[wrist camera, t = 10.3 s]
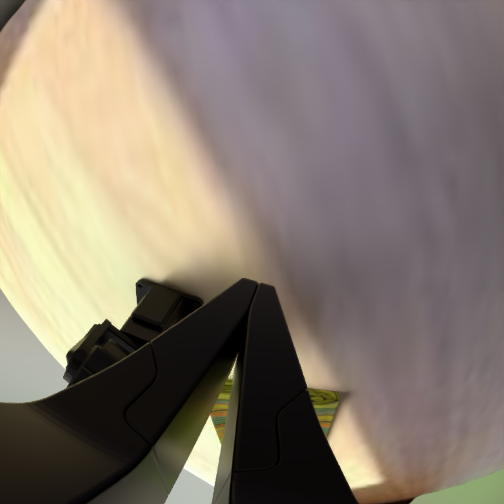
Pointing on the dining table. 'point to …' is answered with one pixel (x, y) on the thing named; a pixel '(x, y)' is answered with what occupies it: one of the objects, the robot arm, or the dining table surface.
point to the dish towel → (321, 399)
